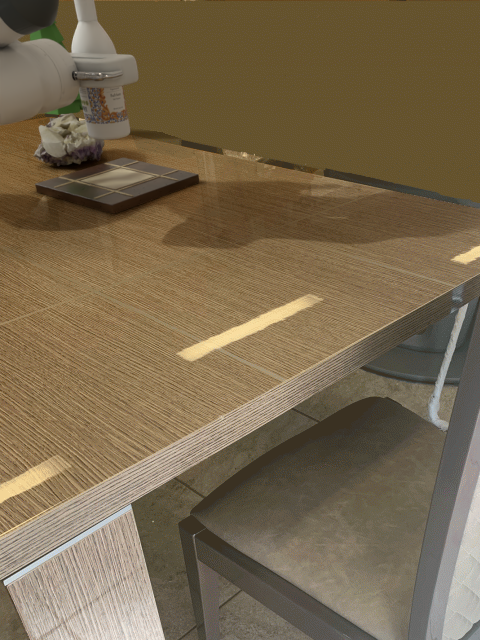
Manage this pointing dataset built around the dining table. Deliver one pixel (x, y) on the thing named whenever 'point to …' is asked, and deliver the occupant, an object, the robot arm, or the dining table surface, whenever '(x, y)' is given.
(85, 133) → the geode
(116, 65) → the robot arm
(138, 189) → the game board
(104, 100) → the bath foam
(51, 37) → the decorative tree
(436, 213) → the dining table surface
